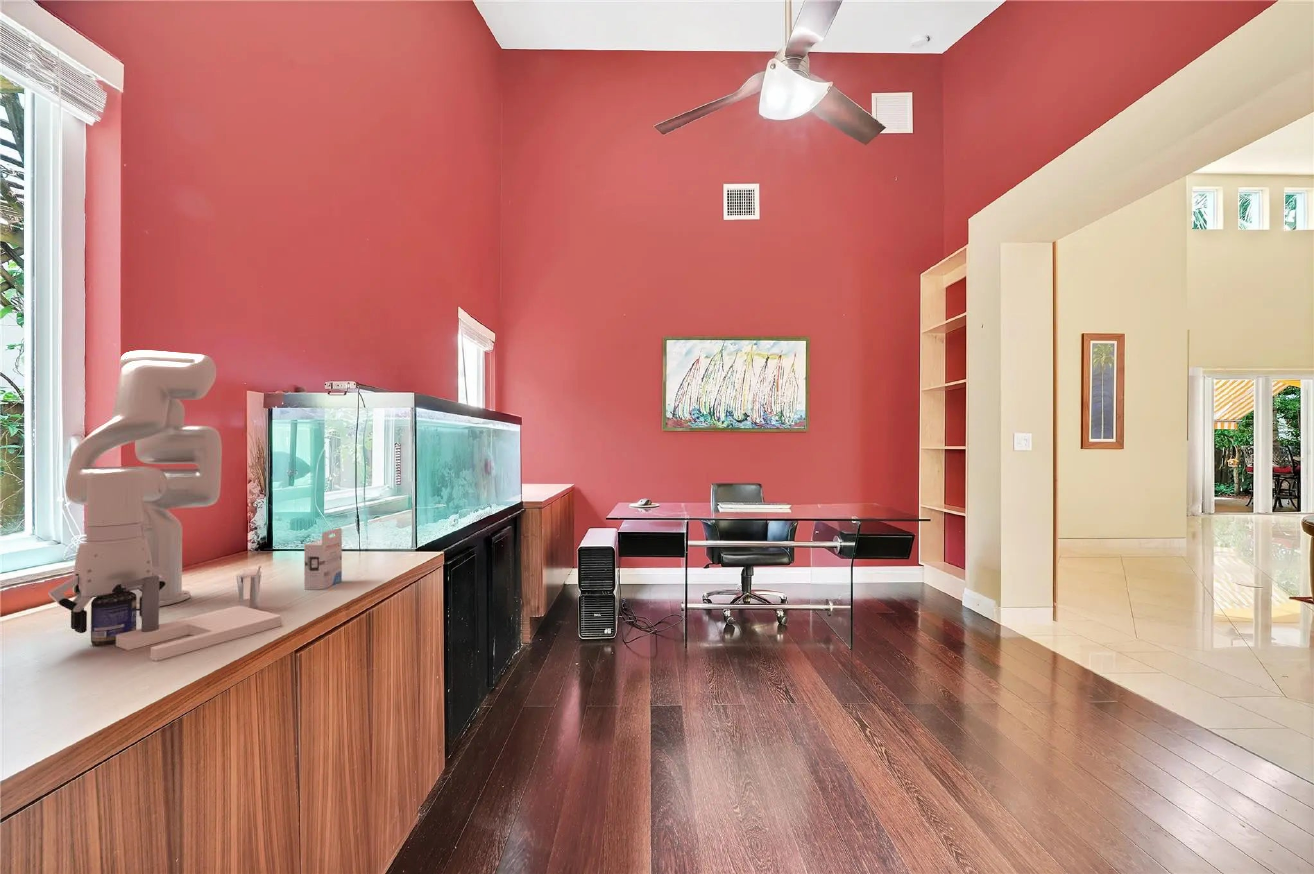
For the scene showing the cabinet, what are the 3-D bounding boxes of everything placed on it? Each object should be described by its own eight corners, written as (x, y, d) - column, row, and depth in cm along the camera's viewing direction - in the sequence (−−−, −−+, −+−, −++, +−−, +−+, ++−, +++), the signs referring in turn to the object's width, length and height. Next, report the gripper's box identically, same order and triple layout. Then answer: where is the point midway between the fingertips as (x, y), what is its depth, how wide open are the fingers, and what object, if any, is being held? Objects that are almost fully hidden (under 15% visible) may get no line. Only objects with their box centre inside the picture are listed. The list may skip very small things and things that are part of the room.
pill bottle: (141, 638, 102) (141, 581, 102) (96, 648, 97) (97, 588, 97) (130, 632, 105) (130, 577, 106) (85, 642, 100) (86, 584, 100)
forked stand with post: (115, 645, 98) (116, 580, 99) (239, 614, 116) (240, 559, 117) (155, 661, 91) (156, 591, 91) (281, 625, 109) (281, 567, 109)
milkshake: (250, 613, 117) (250, 568, 117) (230, 612, 118) (231, 567, 118) (269, 607, 122) (269, 563, 122) (250, 605, 123) (250, 562, 123)
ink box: (324, 581, 145) (324, 527, 145) (342, 581, 145) (342, 527, 145) (303, 590, 136) (303, 532, 136) (322, 589, 136) (322, 532, 136)
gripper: (163, 525, 111) (163, 608, 111) (40, 539, 95) (39, 635, 95) (181, 528, 108) (180, 614, 107) (56, 542, 92) (55, 642, 92)
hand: (114, 623), depth 101 cm, fingers open, 8 cm apart
